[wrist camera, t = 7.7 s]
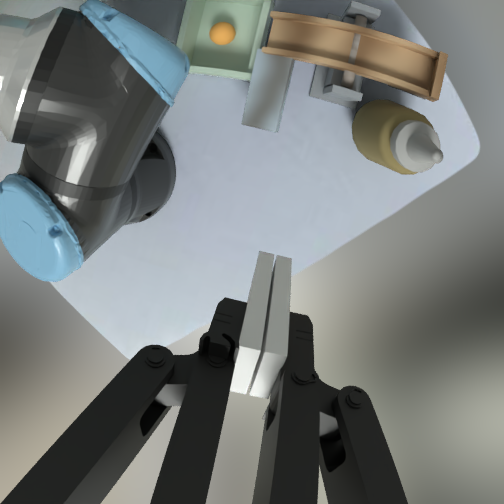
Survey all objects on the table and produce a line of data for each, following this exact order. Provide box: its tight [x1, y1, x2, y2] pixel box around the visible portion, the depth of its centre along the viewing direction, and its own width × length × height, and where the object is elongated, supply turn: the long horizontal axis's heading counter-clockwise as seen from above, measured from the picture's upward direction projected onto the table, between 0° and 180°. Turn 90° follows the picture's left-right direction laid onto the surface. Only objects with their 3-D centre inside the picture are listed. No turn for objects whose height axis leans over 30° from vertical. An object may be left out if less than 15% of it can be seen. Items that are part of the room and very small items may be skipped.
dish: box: [176, 0, 275, 82], centre depth 29 cm, size 10×12×5 cm
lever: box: [242, 11, 448, 132], centre depth 26 cm, size 19×15×6 cm
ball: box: [209, 22, 236, 45], centre depth 29 cm, size 3×3×3 cm
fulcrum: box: [309, 0, 381, 109], centre depth 27 cm, size 6×12×10 cm, turn 169°
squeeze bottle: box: [352, 99, 443, 174], centre depth 27 cm, size 8×8×18 cm
